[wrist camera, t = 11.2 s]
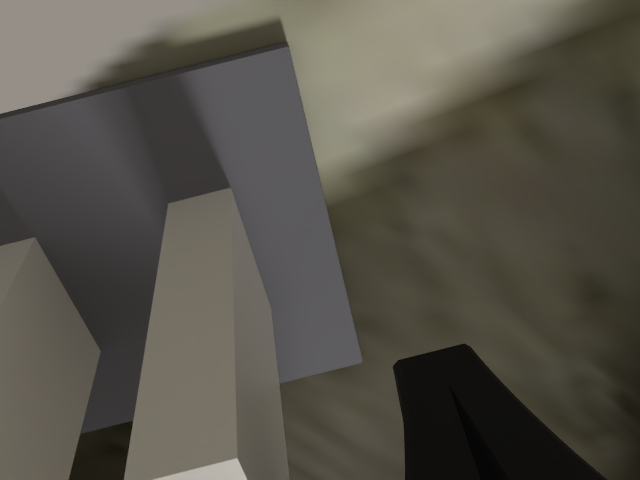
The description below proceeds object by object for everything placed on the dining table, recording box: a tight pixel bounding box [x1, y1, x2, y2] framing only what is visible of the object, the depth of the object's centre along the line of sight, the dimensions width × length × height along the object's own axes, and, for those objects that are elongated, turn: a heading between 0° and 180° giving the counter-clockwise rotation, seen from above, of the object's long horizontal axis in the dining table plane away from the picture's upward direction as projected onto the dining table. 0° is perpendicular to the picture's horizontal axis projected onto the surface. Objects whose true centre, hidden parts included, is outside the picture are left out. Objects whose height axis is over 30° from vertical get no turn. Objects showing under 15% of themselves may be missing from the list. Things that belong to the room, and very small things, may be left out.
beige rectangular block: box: [124, 188, 289, 480], centre depth 12 cm, size 2×4×8 cm, turn 12°
